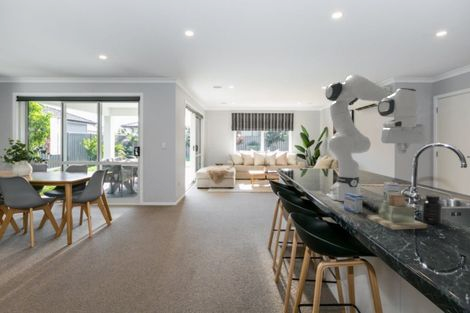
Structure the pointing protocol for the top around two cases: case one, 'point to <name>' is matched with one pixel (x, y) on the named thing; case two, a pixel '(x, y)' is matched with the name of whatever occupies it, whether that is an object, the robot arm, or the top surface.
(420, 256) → the top surface
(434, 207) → the supplement bottle
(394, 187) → the syrup box
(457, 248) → the top surface
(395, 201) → the peg
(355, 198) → the medicine box
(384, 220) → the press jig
